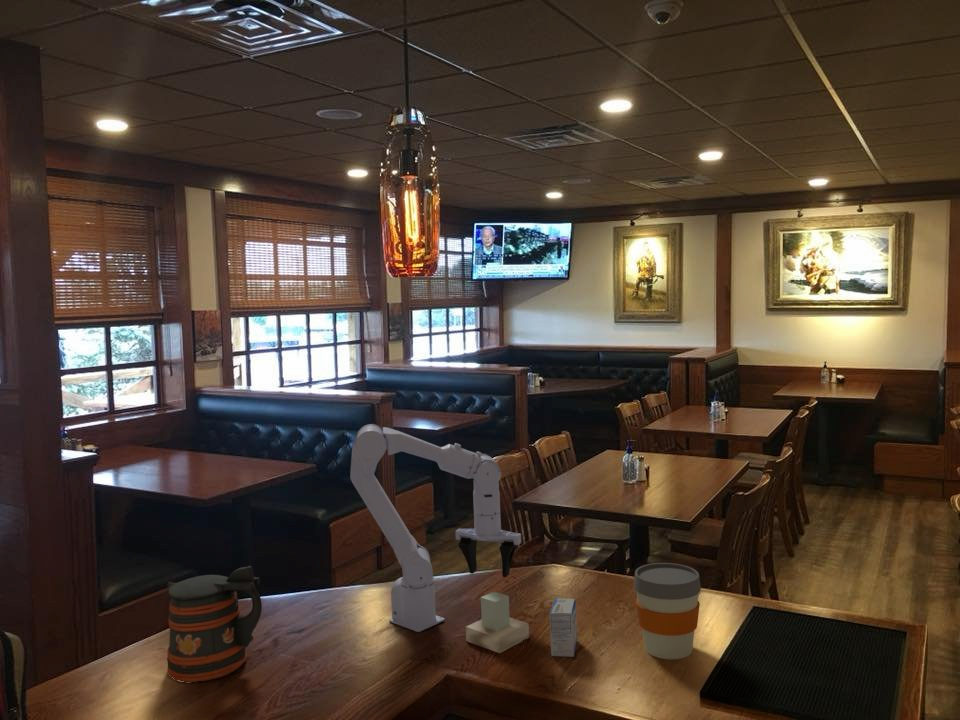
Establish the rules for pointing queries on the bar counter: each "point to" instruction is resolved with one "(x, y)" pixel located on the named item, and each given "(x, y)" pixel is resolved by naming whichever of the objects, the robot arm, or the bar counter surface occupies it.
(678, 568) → the reusable coffee cup
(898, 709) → the bar counter surface
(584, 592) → the bar counter surface
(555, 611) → the medicine box
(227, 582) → the beer stein
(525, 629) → the birch block
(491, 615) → the sage block
